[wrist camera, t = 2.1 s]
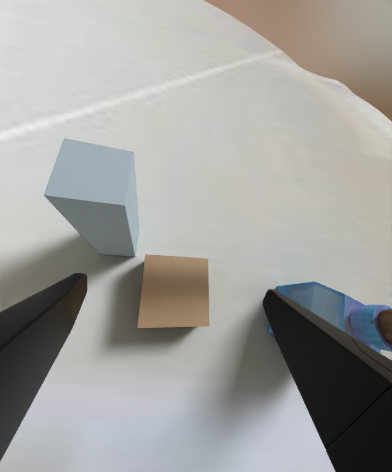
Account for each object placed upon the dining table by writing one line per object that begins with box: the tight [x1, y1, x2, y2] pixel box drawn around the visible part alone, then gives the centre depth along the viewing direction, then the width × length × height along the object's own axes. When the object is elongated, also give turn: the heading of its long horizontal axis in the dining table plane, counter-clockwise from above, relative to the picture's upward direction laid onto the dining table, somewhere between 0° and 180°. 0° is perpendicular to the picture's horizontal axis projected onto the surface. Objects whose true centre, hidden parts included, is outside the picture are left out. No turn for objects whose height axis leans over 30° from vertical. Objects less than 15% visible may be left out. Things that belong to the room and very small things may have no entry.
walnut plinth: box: [137, 254, 209, 328], centre depth 20 cm, size 7×7×3 cm
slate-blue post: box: [44, 138, 139, 257], centre depth 16 cm, size 4×4×12 cm
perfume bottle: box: [268, 282, 392, 354], centre depth 19 cm, size 6×6×12 cm
